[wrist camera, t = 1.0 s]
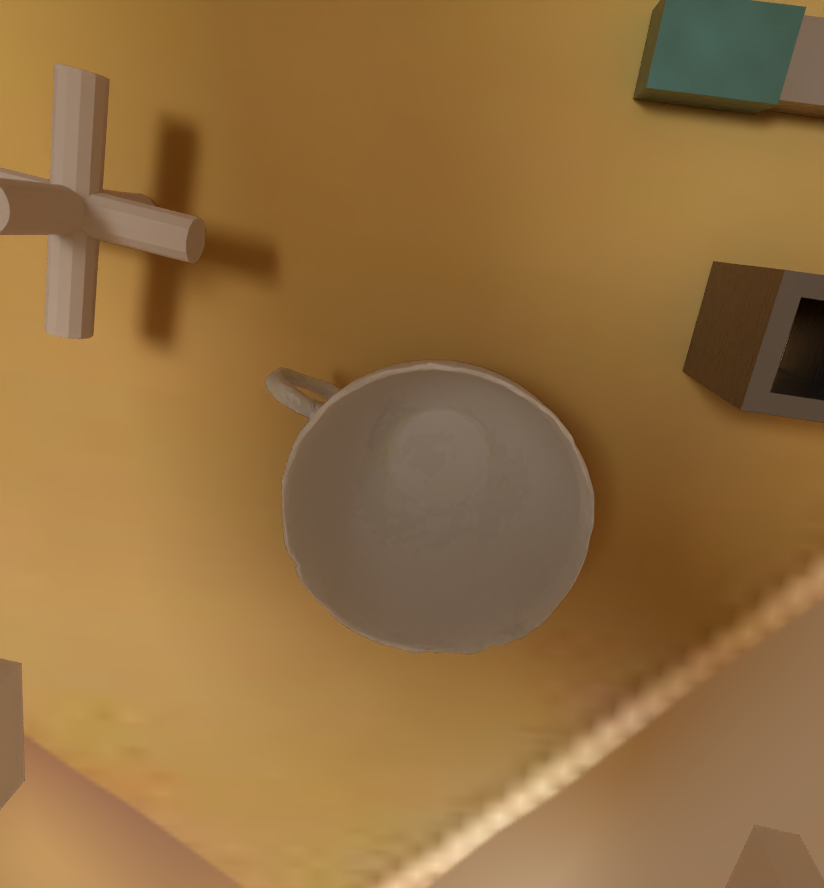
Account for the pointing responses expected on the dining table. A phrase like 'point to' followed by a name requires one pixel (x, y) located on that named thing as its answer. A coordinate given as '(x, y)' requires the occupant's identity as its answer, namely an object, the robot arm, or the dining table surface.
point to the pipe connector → (86, 207)
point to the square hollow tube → (761, 340)
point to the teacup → (433, 504)
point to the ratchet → (734, 57)
